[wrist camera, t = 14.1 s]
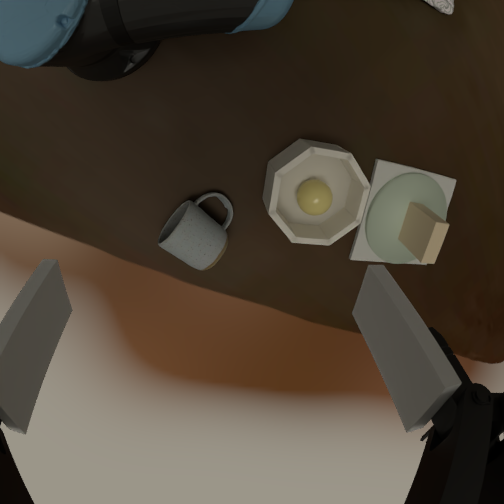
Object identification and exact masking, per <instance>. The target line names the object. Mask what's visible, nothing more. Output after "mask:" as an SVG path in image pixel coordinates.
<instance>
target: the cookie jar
mask: <svg viewBox="0 0 504 504" xmlns="http://www.w3.org/2000/svg"><path fill="white" fill-rule="evenodd" d="M424 1H426V2H427V3H428V4H430V5H431V6H433V7H434V8H435V9H437V10H438V11H439V12H441V13H445V14H448V15H450V14H452V12H453V7H454V3H453V2H454V0H424Z"/></svg>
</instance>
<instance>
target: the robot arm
mask: <svg viewBox="0 0 504 504" xmlns="http://www.w3.org/2000/svg"><path fill="white" fill-rule="evenodd" d="M293 1H294V0H0V61H2V62H3V63H6V64H9V65H14V66H19V67H22V68H32V67H33V68H35V67H38V66H56V67H67V68H68V69H69V70H70V71H71V72H72V73H74V74H75V75H77V76H79V77H81V78H84V79H87V80H92V81H109V80H115V79H118V78H122V77H124V76H126V75H129V74H130V73H132V72H134V71H135V70H137V69H138V68H140V67H141V66H142V65H143V64H144V63H145V62H146V61H147V60H148V59H149V58H150V57H151V56H152V55H153V53H154V52H155V50H156V49H157V47H158V45H159V43H160V41H161V40H162V39H168V38H175V37H183V36H191V35H201V34H213V33H226V34H232V33H237V32H239V31H247V30H263V29H266V28H270V27H272V26H274V25H276V24H277V23H279V22H280V21H281V20H282V19H283V18H284V16H285V15H286V14H287V12H288V11H289V9H290V7H291V5H292V3H293ZM71 312H72V308H71V304H70V301H69V298H68V295H67V292H66V289H65V285H64V282H63V278H62V275H61V271H60V268H59V264H58V260H48V259H43V260H42V261H41V263H40V264H39V266H38V267H37V268H36V270H35V271H34V272H33V274H32V275H31V277H30V278H29V280H28V281H27V283H26V284H25V286H24V287H23V289H22V290H21V291H20V293H19V295H18V296H17V298H16V299H15V301H14V302H13V304H12V306H11V307H10V309H9V310H8V312H7V313H6V315H5V317H4V318H3V320H2V322H1V324H0V425H1V422H3V423H4V424H5V425H6V426H7V427H8V428H9V429H10V430H13V431H17V432H19V433H22V434H26V432H27V428H28V425H29V421H30V418H31V415H32V412H33V409H34V406H35V403H36V400H37V397H38V394H39V391H40V388H41V385H42V382H43V380H44V377H45V374H46V372H47V369H48V366H49V364H50V361H51V359H52V356H53V354H54V351H55V349H56V346H57V344H58V342H59V339H60V337H61V335H62V332H63V330H64V328H65V325H66V323H67V321H68V319H69V317H70V314H71ZM352 314H353V316H354V318H355V320H356V322H357V324H358V326H359V328H360V330H361V332H362V335H363V337H364V339H365V341H366V343H367V345H368V347H369V349H370V351H371V353H372V355H373V358H374V360H375V362H376V364H377V366H378V368H379V371H380V373H381V375H382V377H383V379H384V381H385V384H386V386H387V388H388V390H389V393H390V395H391V397H392V399H393V402H394V404H395V406H396V409H397V411H398V413H399V415H400V418H401V420H402V423H403V425H404V427H405V430H406V432H410V431H414V430H417V429H420V428H423V427H424V426H425V425H426V424H427V423H428V422H429V421H430V420H432V422H433V424H434V425H433V426H432V427H431V428H430V429H429V430H428V431H427V432H426V433H425V434H424V435H423V436H422V438H421V441H423V440H424V439H425V438H426V437H427V436H428V439H427V441H426V445H425V449H424V452H423V455H422V458H421V461H420V464H419V467H418V470H417V473H416V475H415V478H414V481H413V483H412V486H411V488H410V491H409V493H408V496H407V498H406V501H405V503H404V504H504V439H503V440H502V441H500V440H499V435H500V434H501V433H503V432H504V392H503V393H491V392H490V391H489V390H488V389H487V388H486V387H485V386H483V385H481V384H477V383H474V384H473V383H472V382H471V381H470V379H469V377H468V375H467V374H466V372H465V371H464V369H463V367H462V366H461V364H460V362H459V361H458V359H457V358H456V356H455V355H453V351H452V350H451V348H450V347H448V344H447V342H446V341H445V339H444V338H443V336H442V335H441V334H440V333H439V332H437V331H436V330H435V329H434V328H433V327H430V328H427V326H426V325H425V323H424V322H423V320H422V319H421V317H420V316H419V314H418V313H417V311H416V310H415V308H414V307H413V306H412V304H411V303H410V301H409V300H408V298H407V297H406V296H405V294H404V293H403V291H402V290H401V289H400V287H399V286H398V284H397V283H396V282H395V280H394V279H393V278H392V276H391V275H390V273H389V272H388V271H387V269H386V268H385V267H384V265H368V268H367V271H366V274H365V277H364V280H363V283H362V286H361V289H360V292H359V295H358V298H357V301H356V304H355V307H354V309H353V312H352ZM0 504H34V502H33V500H32V498H31V496H30V494H29V492H28V490H27V488H26V486H25V484H24V482H23V480H22V478H21V476H20V473H19V471H18V469H17V466H16V464H15V462H14V459H13V457H12V454H11V452H10V449H9V447H8V444H7V441H6V439H5V436H4V433H3V431H2V430H1V428H0Z"/></svg>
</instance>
